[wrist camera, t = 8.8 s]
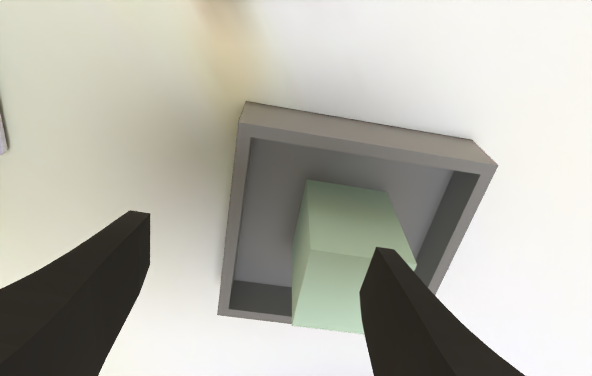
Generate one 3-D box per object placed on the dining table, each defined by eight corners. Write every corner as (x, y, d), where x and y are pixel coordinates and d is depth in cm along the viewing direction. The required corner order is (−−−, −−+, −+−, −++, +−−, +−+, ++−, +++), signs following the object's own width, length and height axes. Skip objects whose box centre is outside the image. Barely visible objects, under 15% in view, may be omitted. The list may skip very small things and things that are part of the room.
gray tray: (225, 279, 25) (217, 315, 23) (246, 101, 19) (238, 121, 17) (401, 301, 26) (413, 338, 24) (472, 140, 20) (498, 165, 18)
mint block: (292, 244, 23) (291, 325, 18) (306, 179, 21) (310, 249, 16) (365, 254, 23) (385, 336, 18) (386, 191, 21) (417, 264, 16)
